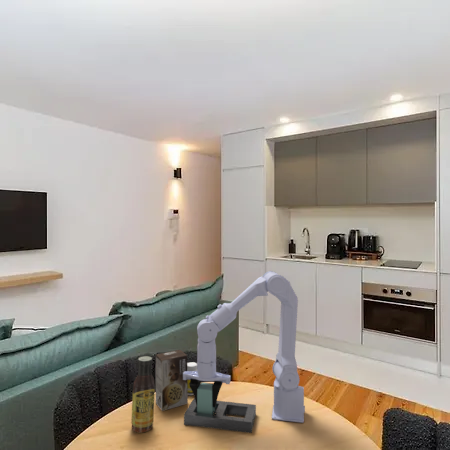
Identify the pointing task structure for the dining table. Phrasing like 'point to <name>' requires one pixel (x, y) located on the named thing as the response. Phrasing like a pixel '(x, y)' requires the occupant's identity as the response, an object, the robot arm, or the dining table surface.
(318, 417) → the dining table surface
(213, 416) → the grey peg holder tray
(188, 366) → the supplement bottle
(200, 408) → the peg
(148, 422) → the sauce bottle
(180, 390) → the coffee box
